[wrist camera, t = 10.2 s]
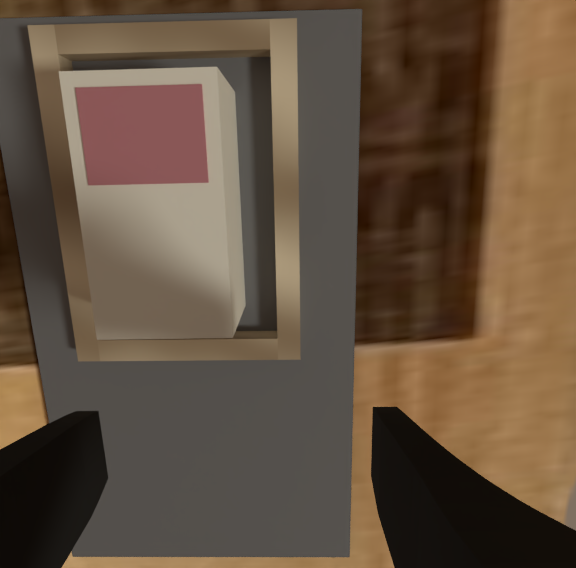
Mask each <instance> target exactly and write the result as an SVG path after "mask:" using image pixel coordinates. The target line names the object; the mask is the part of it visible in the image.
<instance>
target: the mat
mask: <svg viewBox="0 0 576 568" xmlns="http://www.w3.org/2000/svg"><path fill="white" fill-rule="evenodd" d="M288 18H297V73H298V168H299V262H300V356H301V360H194V361H78V357H77V351H76V344H75V337H74V331H73V324H72V317H71V311H70V304H69V298H68V291H67V284H66V278H65V271H64V264H63V258H62V251H61V245H60V238H59V231H58V225H57V218H56V211H55V205H54V198H53V192H52V185H51V178H50V172H49V165H48V158H47V152H46V145H45V139H44V132H43V125H42V119H41V112H40V105H39V99H38V92H37V86H36V79H35V72H34V66H33V59H32V52H31V46H30V39H29V33H28V26H27V25H56V24H95V23H133V22H172V21H210V20H249V19H288ZM361 35H362V9H342V10H304V11H266V12H228V13H190V14H152V15H114V16H76V17H38V18H0V146H1V152H2V158H3V163H4V169H5V175H6V180H7V186H8V192H9V197H10V203H11V209H12V214H13V220H14V226H15V232H16V237H17V243H18V249H19V254H20V260H21V266H22V271H23V277H24V283H25V288H26V294H27V300H28V305H29V311H30V317H31V322H32V328H33V334H34V339H35V345H36V351H37V356H38V362H39V368H40V374H41V379H42V385H43V391H44V396H45V402H46V408H47V413H48V419H49V423H51V422H53V421H55V420H57V419H59V418H61V417H63V416H65V415H68V414H70V413H72V412H75V411H99V417H100V424H101V431H102V438H103V445H104V451H105V458H106V465H107V472H108V480H107V483H106V485H105V488H104V490H103V492H102V495H101V497H100V499H99V502H98V504H97V506H96V508H95V510H94V513H93V515H92V517H91V518H90V520H89V522H88V524H87V525H86V527H85V529H84V531H83V532H82V534H81V536H80V537H79V539H78V541H77V542H76V544H75V546H74V548H73V549H72V555H73V557H349V555H350V512H351V468H352V425H353V382H354V338H355V295H356V252H357V208H358V165H359V122H360V78H361ZM72 67H73V71H88V70H122V69H156V68H189V67H218V69H219V70H220V72H221V73H222V74H223V76H224V77H225V79H226V80H227V81H228V83H229V84H230V86H231V87H232V88H233V90H234V91H235V102H236V122H237V142H238V162H239V182H240V202H241V223H242V243H243V263H244V283H245V303H246V306H245V308H244V311H243V313H242V316H241V318H240V321H239V324H238V326H237V329H236V331H277V297H276V256H275V216H274V176H273V135H272V95H271V57H236V58H194V59H153V60H111V61H72Z"/></svg>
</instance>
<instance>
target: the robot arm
mask: <svg viewBox="0 0 576 568" xmlns="http://www.w3.org/2000/svg"><path fill="white" fill-rule="evenodd" d="M371 477H372V483H373V488H374V494H375V499H376V505H377V510H378V514H379V518H380V521H381V525H382V528H383V531H384V534H385V538H386V541H387V544H388V547H389V551H390V554H391V557H392V560H393V564H394V567H395V568H576V531H575V530H573V529H571V528H569V527H567V526H566V525H564V524H562V523H560V522H558V521H556V520H554V519H552V518H550V517H548V516H547V515H545V514H543V513H541V512H539V511H537V510H535V509H534V508H532V507H530V506H528V505H527V504H525V503H523V502H521V501H520V500H518V499H516V498H515V497H513V496H512V495H510V494H508V493H507V492H505V491H504V490H502V489H500V488H499V487H497V486H496V485H494V484H493V483H491V482H490V481H488V480H487V479H485V478H484V477H482V476H481V475H479V474H478V473H477V472H475V471H474V470H472V469H471V468H470V467H468V466H467V465H466V464H464V463H463V462H462V461H460V460H459V459H458V458H456V457H455V456H454V455H452V454H451V453H450V452H449V451H447V450H446V449H445V448H444V447H442V446H441V445H440V444H439V443H438V442H436V441H435V440H434V439H433V438H432V437H431V436H429V435H428V434H427V433H426V432H425V431H424V430H422V429H421V428H420V427H419V426H418V425H417V424H416V423H415V422H413V421H412V420H411V419H410V418H409V417H408V416H407V415H406V414H405V413H403V412H402V411H401V410H400V409H399V408H397V407H373V425H372V464H371ZM107 480H108V472H107V465H106V458H105V451H104V445H103V438H102V431H101V424H100V417H99V411H75V412H72V413H70V414H68V415H65V416H63V417H61V418H59V419H57V420H55V421H53V422H51V423H49V424H47V425H45V426H43V427H42V428H40V429H38V430H36V431H34V432H32V433H30V434H29V435H27V436H25V437H23V438H21V439H19V440H17V441H15V442H14V443H12V444H10V445H8V446H6V447H4V448H2V449H1V450H0V568H61V567H62V566H63V564H64V562H65V561H66V559H67V558H68V556H69V554H70V553H71V551H72V549H73V548H74V546H75V544H76V542H77V541H78V539H79V537H80V536H81V534H82V532H83V531H84V529H85V527H86V525H87V524H88V522H89V520H90V518H91V517H92V515H93V513H94V510H95V508H96V506H97V504H98V502H99V499H100V497H101V495H102V492H103V490H104V488H105V485H106V483H107Z"/></svg>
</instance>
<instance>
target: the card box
mask: <svg viewBox="0 0 576 568" xmlns="http://www.w3.org/2000/svg"><path fill="white" fill-rule="evenodd" d="M58 72H59V79H60V86H61V93H62V100H63V107H64V114H65V121H66V128H67V135H68V141H69V148H70V155H71V162H72V169H73V176H74V183H75V190H76V197H77V204H78V211H79V218H80V225H81V232H82V239H83V246H84V253H85V260H86V267H87V274H88V281H89V288H90V295H91V302H92V309H93V316H94V323H95V330H96V337H97V340H121V339H189V338H233V336H234V334H235V331H236V329H237V326H238V324H239V321H240V318H241V316H242V313H243V311H244V308H245V306H246V303H245V283H244V263H243V243H242V223H241V202H240V182H239V162H238V142H237V122H236V102H235V91H234V90H233V88H232V87H231V86H230V84H229V83H228V81H227V80H226V79H225V77H224V76H223V74H222V73H221V72H220V70H219V69H218V67H189V68H156V69H122V70H88V71H58Z"/></svg>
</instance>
